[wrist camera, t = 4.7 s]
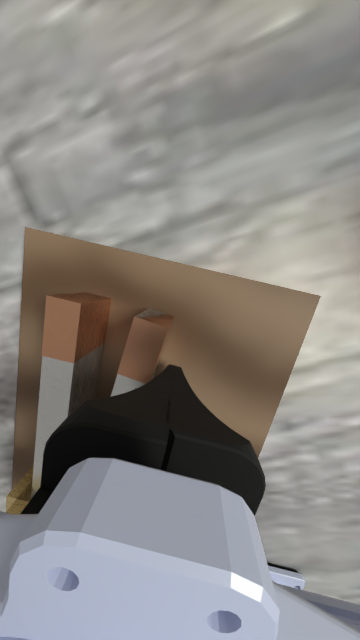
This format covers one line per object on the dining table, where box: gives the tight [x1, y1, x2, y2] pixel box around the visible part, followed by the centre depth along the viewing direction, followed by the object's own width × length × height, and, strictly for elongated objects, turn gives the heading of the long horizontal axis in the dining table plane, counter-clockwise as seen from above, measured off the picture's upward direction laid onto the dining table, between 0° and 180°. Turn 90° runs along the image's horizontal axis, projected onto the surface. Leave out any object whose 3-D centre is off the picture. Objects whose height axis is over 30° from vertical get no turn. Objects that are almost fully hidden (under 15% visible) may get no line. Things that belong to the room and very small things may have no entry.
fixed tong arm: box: [31, 292, 112, 499], centre depth 12 cm, size 18×4×3 cm, turn 167°
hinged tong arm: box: [111, 308, 174, 396], centre depth 11 cm, size 17×2×3 cm, turn 161°
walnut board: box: [12, 227, 321, 490], centre depth 13 cm, size 22×18×1 cm
